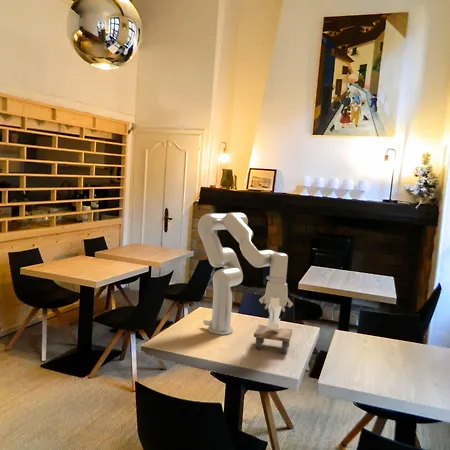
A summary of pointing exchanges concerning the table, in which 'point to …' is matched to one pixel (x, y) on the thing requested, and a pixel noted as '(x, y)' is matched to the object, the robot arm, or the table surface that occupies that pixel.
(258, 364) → the table surface
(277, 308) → the beer glass
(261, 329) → the peg shelf
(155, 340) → the table surface
